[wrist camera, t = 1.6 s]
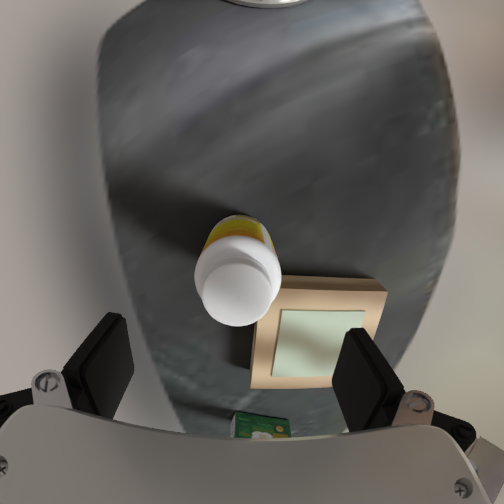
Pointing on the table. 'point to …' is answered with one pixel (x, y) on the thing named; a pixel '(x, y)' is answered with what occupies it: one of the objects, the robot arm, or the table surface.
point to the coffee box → (259, 426)
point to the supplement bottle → (238, 271)
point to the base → (311, 329)
